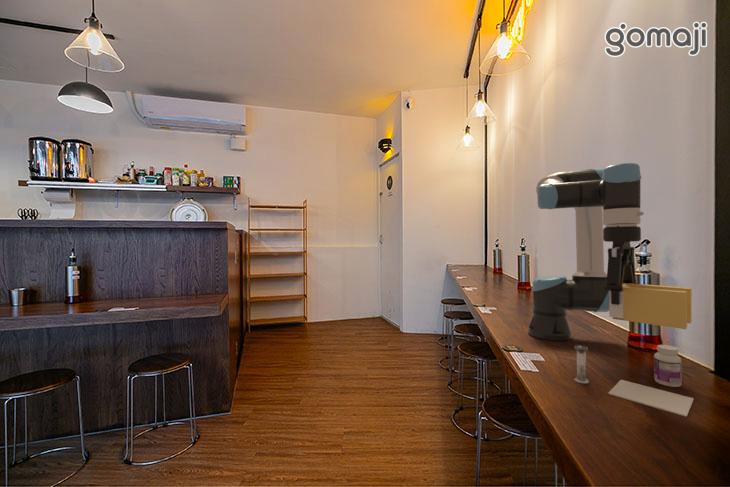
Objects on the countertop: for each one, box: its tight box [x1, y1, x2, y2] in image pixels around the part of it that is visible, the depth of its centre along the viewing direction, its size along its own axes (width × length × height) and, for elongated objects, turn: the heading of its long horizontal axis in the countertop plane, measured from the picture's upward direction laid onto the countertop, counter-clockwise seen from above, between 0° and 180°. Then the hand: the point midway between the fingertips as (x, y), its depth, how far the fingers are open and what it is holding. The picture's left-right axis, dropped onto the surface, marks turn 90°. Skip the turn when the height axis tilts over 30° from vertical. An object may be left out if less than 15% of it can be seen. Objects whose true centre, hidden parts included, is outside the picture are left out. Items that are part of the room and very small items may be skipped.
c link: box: [612, 283, 693, 330], centre depth 79 cm, size 13×9×8 cm
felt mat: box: [607, 379, 694, 418], centre depth 80 cm, size 11×14×1 cm
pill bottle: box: [653, 344, 682, 388], centre depth 87 cm, size 5×5×10 cm
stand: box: [574, 344, 589, 385], centre depth 89 cm, size 3×3×10 cm
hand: (622, 314), depth 84 cm, fingers closed on c link, 9 cm apart
